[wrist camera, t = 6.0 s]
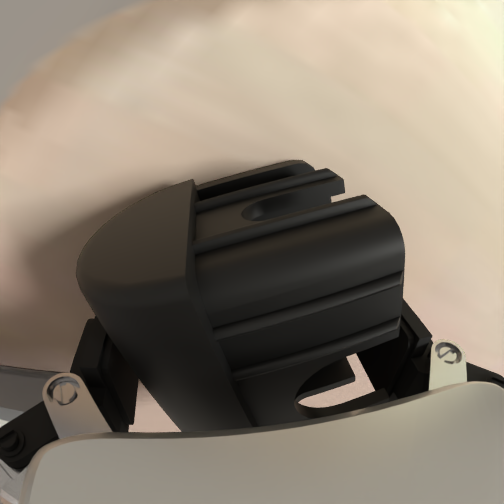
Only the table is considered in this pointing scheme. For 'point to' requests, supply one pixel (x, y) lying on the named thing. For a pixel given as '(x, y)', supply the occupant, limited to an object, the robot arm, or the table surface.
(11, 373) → the tray
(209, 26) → the table surface
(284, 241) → the end cap
